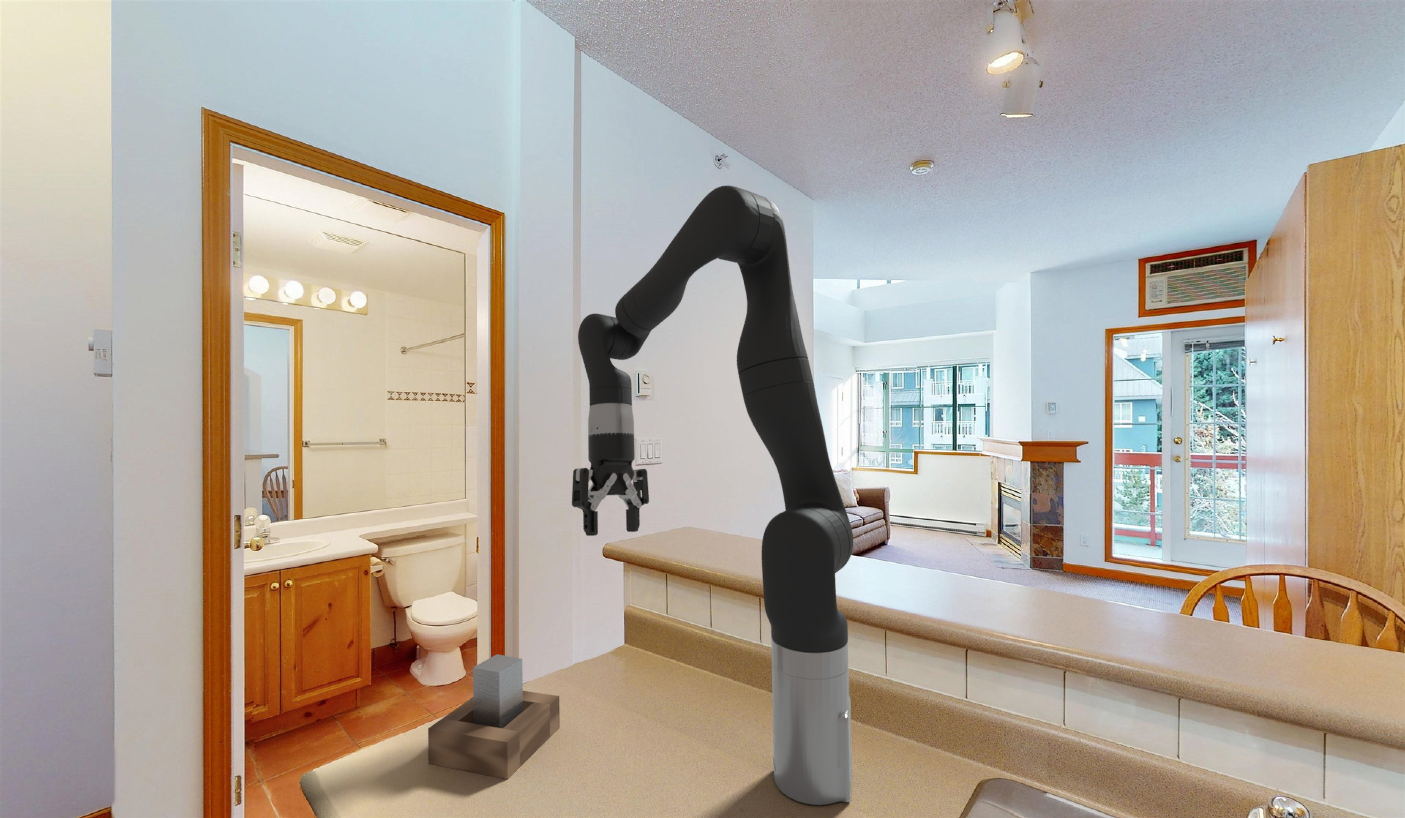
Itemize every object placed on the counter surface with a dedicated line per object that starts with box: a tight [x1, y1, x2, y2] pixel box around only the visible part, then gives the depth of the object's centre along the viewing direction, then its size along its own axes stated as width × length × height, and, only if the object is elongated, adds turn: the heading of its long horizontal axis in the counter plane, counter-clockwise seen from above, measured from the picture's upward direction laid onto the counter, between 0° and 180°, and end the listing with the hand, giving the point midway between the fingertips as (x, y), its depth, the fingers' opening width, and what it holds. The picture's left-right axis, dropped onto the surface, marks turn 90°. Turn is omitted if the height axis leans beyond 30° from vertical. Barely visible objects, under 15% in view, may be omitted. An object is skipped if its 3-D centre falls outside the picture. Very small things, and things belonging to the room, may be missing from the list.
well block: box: [427, 690, 561, 780], centre depth 77 cm, size 12×12×4 cm
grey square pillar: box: [472, 654, 524, 729], centre depth 77 cm, size 4×4×11 cm
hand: (612, 533), depth 90 cm, fingers open, 8 cm apart
